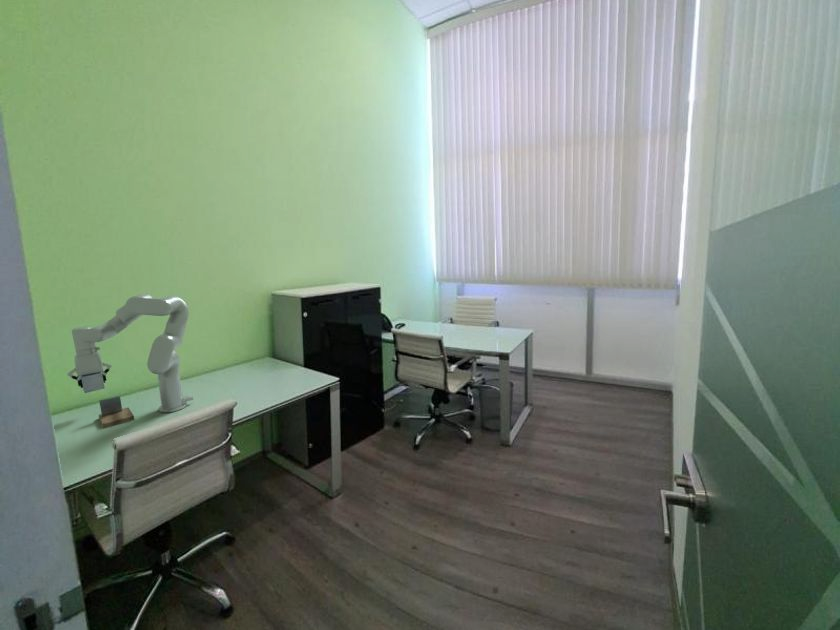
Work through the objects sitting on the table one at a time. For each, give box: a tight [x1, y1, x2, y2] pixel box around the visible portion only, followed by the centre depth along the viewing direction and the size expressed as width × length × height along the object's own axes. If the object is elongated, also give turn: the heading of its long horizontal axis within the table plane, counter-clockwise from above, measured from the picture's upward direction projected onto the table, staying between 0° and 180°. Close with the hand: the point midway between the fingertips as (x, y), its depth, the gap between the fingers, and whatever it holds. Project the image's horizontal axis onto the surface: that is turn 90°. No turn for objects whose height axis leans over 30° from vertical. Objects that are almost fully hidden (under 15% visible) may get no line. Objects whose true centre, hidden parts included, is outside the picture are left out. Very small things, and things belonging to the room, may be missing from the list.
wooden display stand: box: [98, 395, 135, 429], centre depth 186 cm, size 12×14×10 cm
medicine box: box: [81, 372, 106, 394], centre depth 189 cm, size 8×4×9 cm, turn 139°
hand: (93, 384), depth 190 cm, fingers closed on medicine box, 8 cm apart
